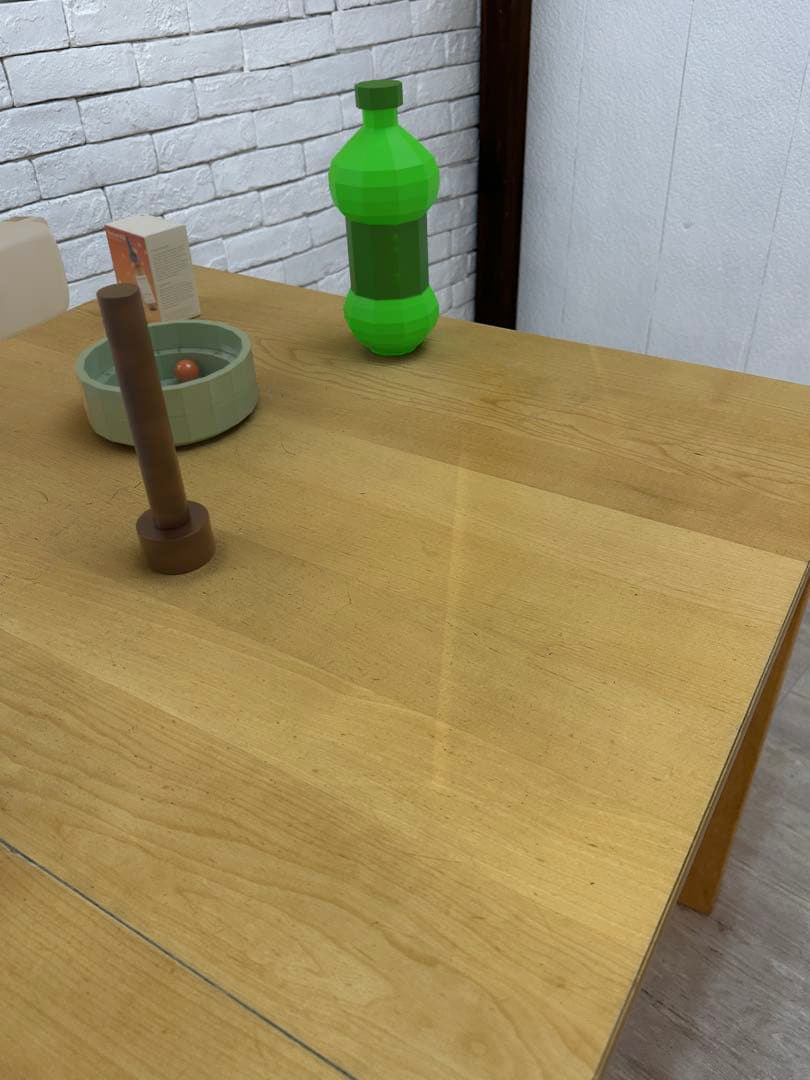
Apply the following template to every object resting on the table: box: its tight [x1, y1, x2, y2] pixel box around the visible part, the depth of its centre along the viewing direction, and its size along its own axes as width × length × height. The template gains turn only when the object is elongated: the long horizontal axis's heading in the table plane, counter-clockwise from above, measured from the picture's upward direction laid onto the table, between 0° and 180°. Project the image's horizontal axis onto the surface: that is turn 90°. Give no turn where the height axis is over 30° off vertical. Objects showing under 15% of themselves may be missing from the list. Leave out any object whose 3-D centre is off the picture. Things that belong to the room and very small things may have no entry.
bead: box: [174, 359, 199, 383], centre depth 88 cm, size 2×2×2 cm
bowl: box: [74, 319, 260, 448], centre depth 84 cm, size 16×16×6 cm
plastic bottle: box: [327, 78, 441, 357], centre depth 88 cm, size 10×10×25 cm
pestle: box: [95, 283, 217, 575], centre depth 61 cm, size 5×5×20 cm
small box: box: [103, 212, 202, 323], centre depth 102 cm, size 8×6×10 cm
